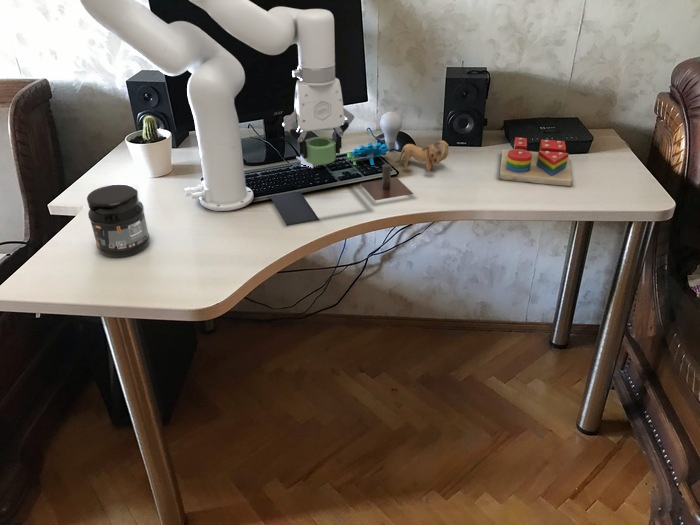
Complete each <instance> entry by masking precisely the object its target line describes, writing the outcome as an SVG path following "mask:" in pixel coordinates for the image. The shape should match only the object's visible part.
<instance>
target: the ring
mask: <svg viewBox="0 0 700 525" xmlns="http://www.w3.org/2000/svg"><path fill="white" fill-rule="evenodd" d="M305 141H306V144H307V158H306V159H305V161H306V162H308V163H311V164H318V165H319V166H321V165H328V164H331V163H334V162H335V161H336V159H337V153H336V142H335V141H334V139H332V137H327V136H315V137H314V136H313V137H310V138H307V139H305Z"/></svg>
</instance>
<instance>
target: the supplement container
mask: <svg viewBox="0 0 700 525" xmlns="http://www.w3.org/2000/svg"><path fill="white" fill-rule="evenodd" d="M86 201H87V205H88V208H89V209H88V213H87V216H88V219H89V222H90V224H91V228H92V231H93V235H94V240H95V244H96V248H97V250H98V251H99V252H100V254H102V255H104V256H107V257H112V258H123V257H128V256H132V255H135V254H137V253H139V252H141V251H142V250H144V249H145V248H147V246H148V245H149V242H150V241H151V240H150V239H151V238H150V233H149V228H148V224H147V219H146V215H145V207H144V204H143V202H141V200H140V196H139V192H138V189H137V188H136V187H134V186H133V185H129V184H123V183H115V184H107V185H104V186H100V187H98V188H96V189H94V190H92V191H91V192H90V193H88V195H87V197H86Z"/></svg>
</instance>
